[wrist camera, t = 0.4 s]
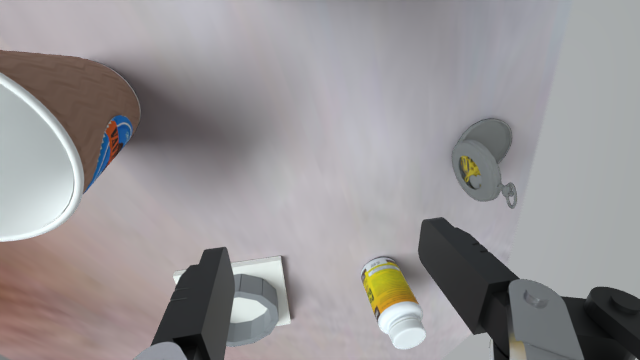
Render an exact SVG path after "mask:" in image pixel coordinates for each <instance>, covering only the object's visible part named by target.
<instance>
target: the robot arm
mask: <svg viewBox="0 0 640 360" xmlns="http://www.w3.org/2000/svg"><path fill="white" fill-rule="evenodd" d="M418 253H419V258H420V260H421V263H422V264H423V266H424V267H425V268H426V270H427V271H428V273H429V274H430V275H431V277H432V278H433V279H434V281H435V282H436V284H437V285H438V286H439V288H440V289H441V290H442V292H443V293H444V295H445V296H446V297H447V299H448V300H449V301H450V303H451V304H452V306H453V307H454V308H455V310H456V311H457V312H458V314H459V315H460V317H461V318H462V319H463V321H464V322H465V323H466V325H467V326H468V328H469V329H470V330H471V332H472V333H473V334H474V335H475V334H480V333H485V332H487V333H488V334H489V336H490V337H491V340H490V346H489V348H490V360H635V358H637V359H638V360H640V299H638V298H637V297H635V296H633V295H631V294H628V293H626V292H624V291H620V290H617V289H614V288H609V287H595V288H593V289H592V290H591V291H590V293H589V295H588V297H587V299H582V298H571V297H562V296H559V295H558V294H557V293H556V292H555V291H553V290H552V289H550V288H548V287H547V286H545V285H543V284H541V283H538V282H535V281H532V280H527V279H519V278H518V277H517V276H516V275H515V274H514V273H513V272H511V271H510V270H509V269H508V268H507V267H506V266H505V265H504V264H503V263H502V262H500V261H499V260H498V259H497V258H496V257H495V256H494V255H493V254H491V253H490V252H488V251H487V249H486V248H485V247H484V246H482V245H480V244H479V242H478V241H477V240H476V239H475V238H474V237H472V236H471V235H470V234H468V233H467V232H465V231H463V230H461V229H459V228H454V227H453V226H452V225H451V224H450V223H449V222H448V221H447V220H446V219H444V218H442V217H440V218H433V219H426V220H423V222H422V225H421V232H420V240H419V247H418ZM234 294H235V280H234V275H233V271H232V267H231V263H230V259H229V255H228V251H227V248H226V247H220V248H213V249H206V250H204V252H203V254H202V257H201V260H200V263H199V264H198V265H191V266H190V267H189V268H188V269H187V270H186V271H185V272H184V273H183V274H182V275H181V276H180V278H179V281H178V283H177V285H176V288H175V292H173V295H172V297H171V299H170V300H171V301H170V302H169V304H168V306H167V309H166V311H165V313H164V316H163V318H162V320H161V323H160V325H159V327H158V330H157V332H156V334H155V337H154V339H153V342H152V344H151V346H150V347H149V348H147V349H145V350H144V351H142V352H141V353H140V354H138V355H137V356H136V357H135V358H134V359H133V360H224V355H225V349H226V343H227V337H228V331H229V325H230V319H231V312H232V306H233V300H234Z"/></svg>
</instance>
